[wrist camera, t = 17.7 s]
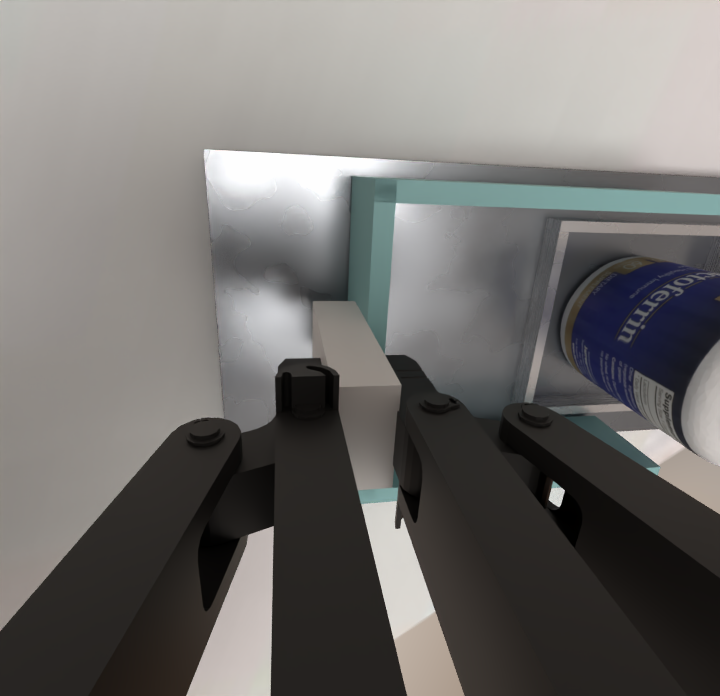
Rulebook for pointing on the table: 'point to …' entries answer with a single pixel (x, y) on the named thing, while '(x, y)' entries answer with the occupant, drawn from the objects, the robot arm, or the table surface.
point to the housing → (381, 195)
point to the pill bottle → (652, 345)
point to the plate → (428, 275)
